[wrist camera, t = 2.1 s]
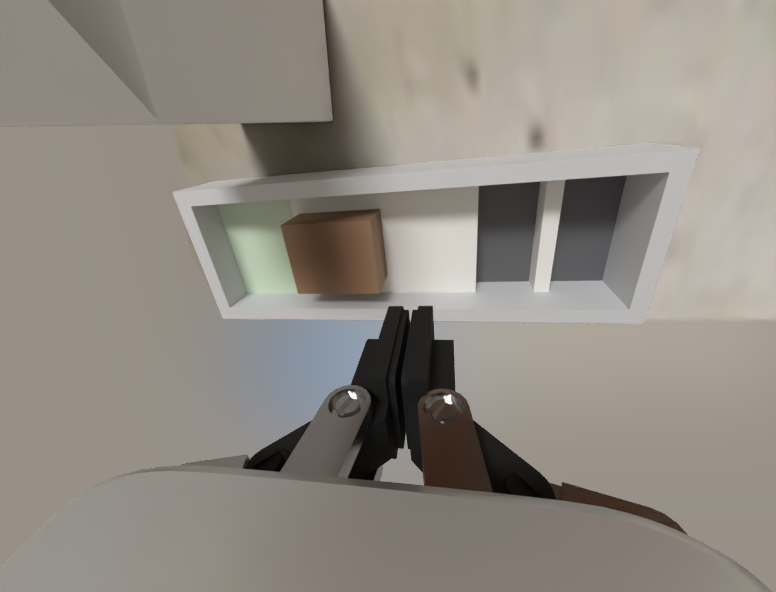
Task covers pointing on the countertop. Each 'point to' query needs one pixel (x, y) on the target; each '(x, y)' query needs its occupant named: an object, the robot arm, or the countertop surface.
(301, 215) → the block
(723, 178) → the countertop surface
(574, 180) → the box
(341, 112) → the countertop surface
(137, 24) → the milk carton
